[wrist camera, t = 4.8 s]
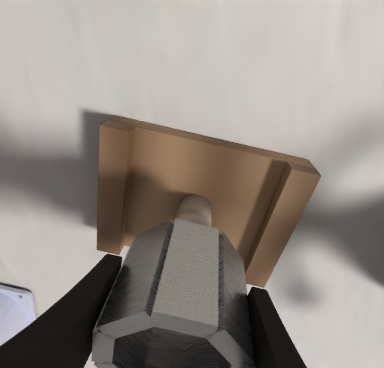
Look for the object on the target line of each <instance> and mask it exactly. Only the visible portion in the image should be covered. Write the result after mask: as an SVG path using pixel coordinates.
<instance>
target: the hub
mask: <svg viewBox="0 0 384 368" xmlns="http://www.w3.org/2000/svg"><path fill="white" fill-rule="evenodd" d="M92 361H94V362H95V364H94V365H95V366H97V367H98V368H255V361H254V352H253V343H252V334H251V325H250V316H249V307H248V298H247V289H246V280H245V271H244V262H243V259H242V258H241V256H240V255H239V253H238V252H237V251H236V249H235V248H234V246H233V245H232V243H231V242H230V241H229V239H228V238H227V236H226V235H225V234H224V232H221V233H219V229H217V228H213V227H209V226H205V225H201V224H196V223H192V222H188V221H184V220H180V219H176V220H175V224H174V223H173V222H172V221H171V219H169V220H167V221H165V222H163V223H161V224H159V225H157V226H154V227H152V228H150V229H148V230H146V231H144V232H142V233H140V234H138V235H136V237H135V238H134V239H133V241H132V244H131V246H130V248H129V250H128V253H127V255H126V257H125V259H124V262H123V264H122V266H121V268H120V271H119V273H118V275H117V277H116V280H115V282H114V284H113V286H112V289H111V291H110V293H109V295H108V298H107V300H106V302H105V304H104V307H103V309H102V311H101V313H100V316H99V318H98V320H97V322H96V325H95V327H94V329H93V337H92Z"/></svg>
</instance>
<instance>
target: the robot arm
mask: <svg viewBox="0 0 384 368" xmlns="http://www.w3.org/2000/svg"><path fill="white" fill-rule="evenodd" d="M121 263H122V257H120V256H115V255H111V254H107V255H105V256H104V257H103V258H102V259H101V260H100V262H99V263H98V264H97V265H96V266H95V267H94V268H93V269H92V270H91V271H90V272H89V273H88V274H87V275H86V276H85V277H84V278H83V279H82V280H81V281H80V282H78V283H77V284H76V285H75V286H74V287H73V288H72V289H71V290H70V291H69V292H68V293H67V294H65V295H64V296H63V297H62V298H61V299H60V300H59V301H57V302H56V303H55V304H54V305H53V306H51V307H50V308H49V309H48V310H47V311H46V312H44V313H43V314H42V315H41V316H39V317H38V318H37V319H36V313H35V307H34V301H33V295H32V293H31V292H29V291H25V290H21V289H16V288H12V287H8V286H3V285H0V368H84V366H85V364H86V362H87V360H88V358H89V356H90V354H91V352H92V337H93V329H94V327H95V325H96V322H97V320H98V318H99V316H100V313H101V311H102V309H103V307H104V304H105V302H106V300H107V298H108V295H109V293H110V291H111V289H112V286H113V284H114V282H115V280H116V277H117V275H118V273H119V271H120V268H121ZM247 298H248V307H249V316H250V325H251V334H252V343H253V352H254V361H255V368H307V367H306V365H305V364H304V362H303V360H302V358H301V357H300V355H299V353H298V351H297V349H296V347H295V346H294V344H293V342H292V340H291V338H290V336H289V334H288V333H287V331H286V329H285V327H284V325H283V323H282V321H281V319H280V317H279V315H278V313H277V311H276V309H275V307H274V305H273V303H272V300H271V298H270V296H269V294H268V292H267V291H266V290H265V289H260V288H256V287H252V288H251V290H250V292H249V294H248V296H247Z"/></svg>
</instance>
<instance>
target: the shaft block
mask: <svg viewBox="0 0 384 368" xmlns="http://www.w3.org/2000/svg"><path fill="white" fill-rule="evenodd" d="M320 178H321V175H320V173H319V172H318V171H317V170H316V169H315V167H314V166H313V165H312V164H311V162H310V161H309V160H306V159H302V158H298V157H293V156H289V155H285V154H280V153H276V152H272V151H267V150H263V149H259V148H254V147H250V146H246V145H241V144H237V143H233V142H228V141H224V140H220V139H215V138H211V137H207V136H202V135H198V134H193V133H189V132H185V131H180V130H176V129H172V128H167V127H163V126H159V125H154V124H150V123H146V122H141V121H137V120H133V119H128V118H124V117H120V116H113V117H112V118H110V119H108V120H107V121H105V122H103V123H102V124H100V126H99V171H98V217H97V250H100V251H104V252H109V253H113V254H117V255H119V254H120V252H121V250H122V248H123V246H124V245H126V246H131V244H132V241H133V239H134V238H135V237H136V235H138V234H140V233H142V232H144V231H146V230H148V229H150V228H152V227H154V226H157V225H159V224H161V223H163V222H165V221H167V220H169V219H171V221H172V222H173V223H174V224H175V220H176V219H180V220H184V221H188V222H192V223H196V224H201V225H205V226H209V227H213V228H217V229H219V233H221V232H224V234H225V235H226V236H227V238H228V239H229V241H230V242H231V243H232V245H233V246H234V248H235V249H236V251H237V252H238V253H239V255H240V256H241V258H242V259H243V262H244V271H245V280H246V284H250V285H254V286H259V287H263V288H264V287H265V285H266V283H267V281H268V279H269V277H270V275H271V273H272V271H273V269H274V267H275V265H276V263H277V261H278V259H279V258H280V256H281V254H282V252H283V250H284V248H285V246H286V244H287V242H288V240H289V238H290V236H291V234H292V232H293V230H294V228H295V226H296V224H297V222H298V221H299V219H300V217H301V215H302V213H303V211H304V209H305V207H306V205H307V203H308V201H309V199H310V197H311V195H312V193H313V191H314V189H315V187H316V186H317V184H318V182H319V180H320Z"/></svg>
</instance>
